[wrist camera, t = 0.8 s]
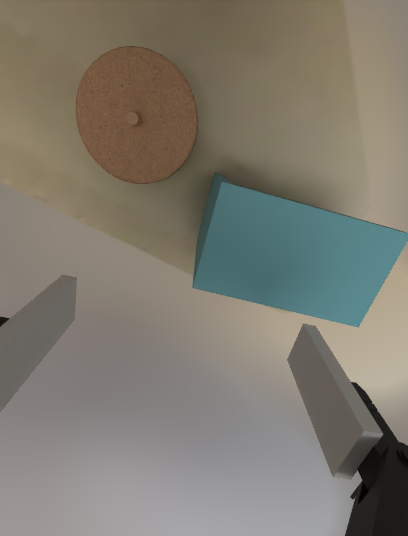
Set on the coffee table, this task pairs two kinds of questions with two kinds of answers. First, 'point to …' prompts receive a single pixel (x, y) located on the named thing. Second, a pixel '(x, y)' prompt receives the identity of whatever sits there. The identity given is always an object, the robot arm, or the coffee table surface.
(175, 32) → the coffee table surface
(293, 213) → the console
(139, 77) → the lidded jar
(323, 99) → the coffee table surface
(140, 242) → the coffee table surface
